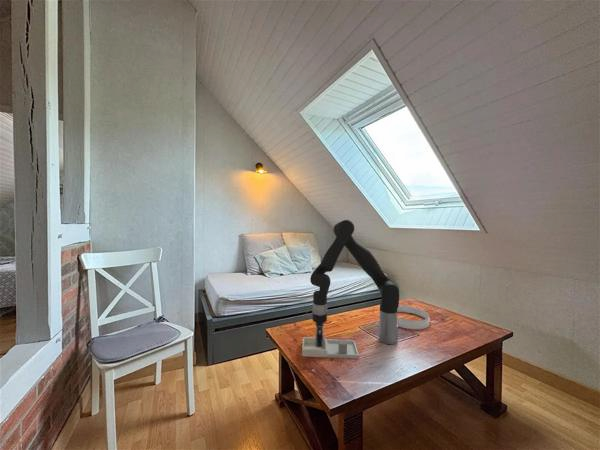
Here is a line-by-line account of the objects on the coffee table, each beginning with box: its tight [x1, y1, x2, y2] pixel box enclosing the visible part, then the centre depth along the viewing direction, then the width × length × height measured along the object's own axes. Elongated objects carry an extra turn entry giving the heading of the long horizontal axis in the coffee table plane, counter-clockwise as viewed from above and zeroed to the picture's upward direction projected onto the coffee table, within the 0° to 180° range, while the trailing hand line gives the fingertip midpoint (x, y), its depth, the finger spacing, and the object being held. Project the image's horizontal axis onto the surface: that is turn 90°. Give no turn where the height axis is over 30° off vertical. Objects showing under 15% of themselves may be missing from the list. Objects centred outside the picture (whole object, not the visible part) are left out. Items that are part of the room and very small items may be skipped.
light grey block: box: [337, 339, 347, 354], centre depth 126 cm, size 4×4×6 cm
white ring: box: [397, 304, 431, 330], centre depth 168 cm, size 27×27×6 cm
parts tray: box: [326, 338, 360, 359], centre depth 130 cm, size 15×14×2 cm
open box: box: [301, 336, 328, 358], centre depth 130 cm, size 12×12×4 cm
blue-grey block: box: [314, 333, 324, 348], centre depth 130 cm, size 4×4×6 cm
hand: (319, 343), depth 130 cm, fingers closed on blue-grey block, 4 cm apart
